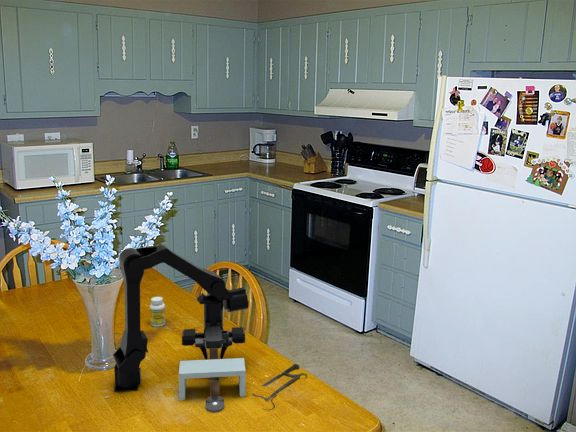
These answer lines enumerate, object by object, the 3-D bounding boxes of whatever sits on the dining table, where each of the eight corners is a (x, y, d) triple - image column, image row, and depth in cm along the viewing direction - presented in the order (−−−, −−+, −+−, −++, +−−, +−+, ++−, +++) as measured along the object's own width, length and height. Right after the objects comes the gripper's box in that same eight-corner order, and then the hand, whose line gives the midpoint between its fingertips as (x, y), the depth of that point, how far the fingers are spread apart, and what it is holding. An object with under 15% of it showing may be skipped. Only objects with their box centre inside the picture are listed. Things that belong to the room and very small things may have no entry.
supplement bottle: (163, 319, 198) (162, 294, 196) (167, 325, 194) (166, 300, 191) (148, 322, 196) (147, 297, 194) (152, 328, 191) (151, 302, 189)
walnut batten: (210, 396, 152) (209, 380, 150) (209, 360, 171) (209, 345, 170) (219, 396, 152) (219, 380, 151) (217, 359, 172) (217, 345, 170)
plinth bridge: (179, 400, 149) (178, 373, 147) (180, 386, 156) (180, 360, 154) (245, 396, 152) (245, 370, 150) (243, 383, 158) (243, 358, 156)
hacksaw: (295, 366, 169) (295, 361, 169) (322, 377, 163) (322, 373, 163) (240, 398, 151) (240, 394, 151) (268, 413, 145) (268, 408, 145)
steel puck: (205, 413, 144) (205, 406, 143) (205, 402, 149) (205, 396, 148) (224, 412, 145) (224, 405, 144) (223, 401, 150) (223, 394, 149)
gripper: (180, 327, 154) (181, 377, 158) (246, 324, 157) (246, 373, 160) (182, 311, 165) (183, 358, 168) (244, 309, 167) (243, 355, 171)
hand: (213, 361), depth 167 cm, fingers open, 4 cm apart
